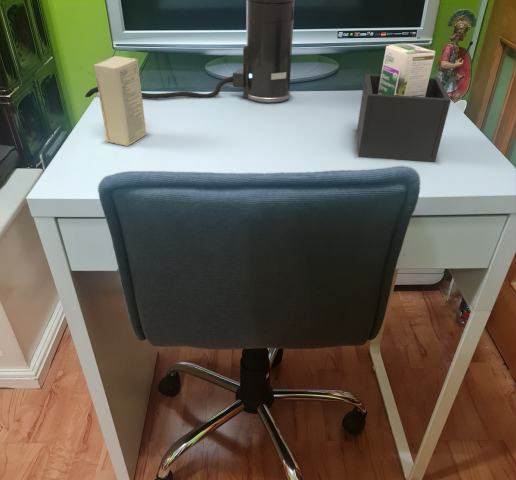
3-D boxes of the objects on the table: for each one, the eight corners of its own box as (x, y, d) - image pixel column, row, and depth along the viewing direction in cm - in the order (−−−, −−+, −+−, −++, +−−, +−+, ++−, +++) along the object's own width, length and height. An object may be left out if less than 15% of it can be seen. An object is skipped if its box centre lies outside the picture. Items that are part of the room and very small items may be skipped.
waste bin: (358, 156, 85) (367, 95, 78) (356, 130, 94) (365, 73, 88) (435, 162, 84) (451, 100, 77) (425, 135, 93) (439, 77, 87)
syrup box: (368, 138, 90) (383, 44, 80) (395, 133, 92) (413, 41, 82) (388, 149, 86) (407, 52, 76) (416, 144, 88) (437, 49, 78)
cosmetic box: (126, 131, 91) (115, 55, 83) (148, 135, 90) (138, 58, 82) (105, 142, 87) (92, 63, 79) (128, 147, 86) (116, 67, 78)
